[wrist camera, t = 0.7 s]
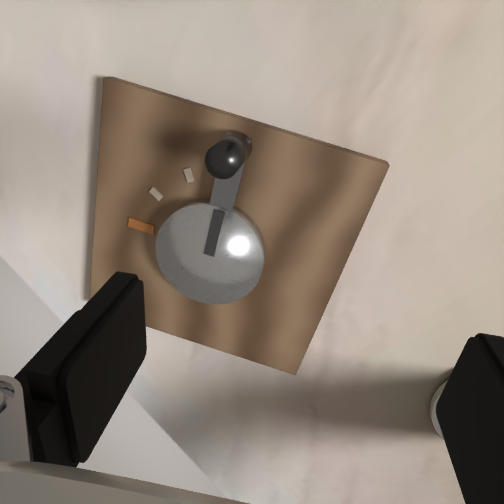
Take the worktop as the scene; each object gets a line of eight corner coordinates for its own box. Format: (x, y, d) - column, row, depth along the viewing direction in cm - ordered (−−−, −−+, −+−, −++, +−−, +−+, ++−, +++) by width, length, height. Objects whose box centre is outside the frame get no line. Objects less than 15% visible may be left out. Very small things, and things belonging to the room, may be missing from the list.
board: (386, 161, 31) (390, 166, 29) (296, 365, 42) (295, 376, 41) (112, 76, 32) (102, 77, 30) (96, 300, 43) (87, 308, 41)
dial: (250, 307, 37) (238, 344, 32) (155, 276, 38) (130, 309, 33) (301, 149, 30) (297, 167, 25) (182, 113, 30) (154, 122, 25)
